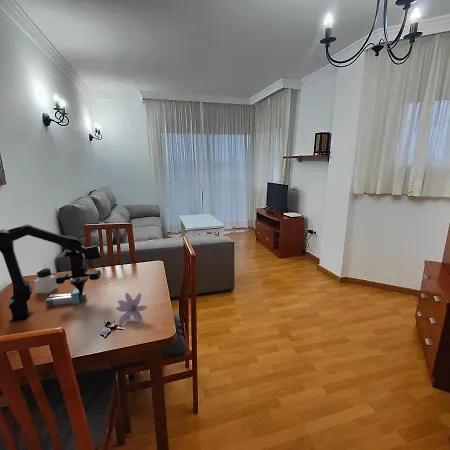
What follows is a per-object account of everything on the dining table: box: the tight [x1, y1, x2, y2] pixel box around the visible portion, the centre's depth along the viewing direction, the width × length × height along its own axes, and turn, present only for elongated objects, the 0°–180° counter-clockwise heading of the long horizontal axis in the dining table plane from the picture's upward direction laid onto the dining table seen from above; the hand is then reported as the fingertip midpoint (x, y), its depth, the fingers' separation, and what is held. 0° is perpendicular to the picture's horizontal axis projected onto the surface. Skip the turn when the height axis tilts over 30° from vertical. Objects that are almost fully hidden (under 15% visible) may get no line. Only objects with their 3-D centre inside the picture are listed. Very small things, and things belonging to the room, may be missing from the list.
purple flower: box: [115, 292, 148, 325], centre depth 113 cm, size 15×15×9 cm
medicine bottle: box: [33, 267, 59, 295], centre depth 138 cm, size 7×7×12 cm
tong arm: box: [48, 293, 71, 298], centre depth 128 cm, size 12×2×3 cm, turn 98°
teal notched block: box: [70, 287, 81, 305], centre depth 127 cm, size 3×6×5 cm, turn 13°
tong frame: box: [45, 292, 87, 308], centre depth 126 cm, size 16×4×4 cm, turn 103°
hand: (81, 292), depth 127 cm, fingers closed
